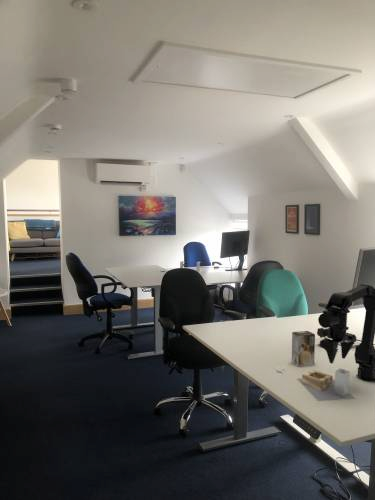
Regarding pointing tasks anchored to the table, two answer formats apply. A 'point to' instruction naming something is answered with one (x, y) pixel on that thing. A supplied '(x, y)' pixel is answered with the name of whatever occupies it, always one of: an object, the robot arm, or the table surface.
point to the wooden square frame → (317, 380)
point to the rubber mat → (325, 393)
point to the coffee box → (303, 348)
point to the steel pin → (342, 382)
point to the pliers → (280, 370)
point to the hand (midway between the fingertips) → (337, 360)
